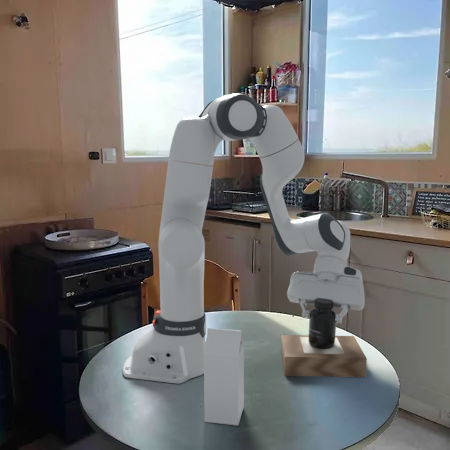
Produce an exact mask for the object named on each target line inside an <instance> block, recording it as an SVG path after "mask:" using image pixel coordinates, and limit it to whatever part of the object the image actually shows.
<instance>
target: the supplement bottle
mask: <svg viewBox="0 0 450 450" xmlns="http://www.w3.org/2000/svg"><path fill="white" fill-rule="evenodd" d="M313 307H314V308H312V309H311V310H310V311H309V318H308V319H309V321H308V335H309V339H308V341H309V344H310V345H311V346H313V347H315V348H319V349H329V348H332V347H333V346H334V344H335V336H336V329H337V323H336V322H335V318H336V314H337V313H336V311H335V310H334V307H333V301H332V300H330V299H323V298H316V299H315V300H314V305H313Z"/></svg>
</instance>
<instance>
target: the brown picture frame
mask: <svg viewBox="0 0 450 450" xmlns="http://www.w3.org/2000/svg"><path fill="white" fill-rule="evenodd" d="M308 339H309V334H306V335H305V334H299V335H298V334H297V335H296V334H281V335H280V355H281V361H282V363H281V364H282V367H283V375H284V376H285V377H287V376H288V377H327V378H329V377H331V378H334V377H335V378H344V377H345V378H366V377H367V362H368V361H367V356H366V355H365V353H364V351H363V350H362V348H361V346H360V344H359V342H358V340H357V339H356V337H355V336H354V335H335V344H334V346H333V347H332V348H329V349H319V348H315V347H313V346H311V345H310V344H309V341H308Z"/></svg>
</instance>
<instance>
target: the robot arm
mask: <svg viewBox="0 0 450 450" xmlns="http://www.w3.org/2000/svg"><path fill="white" fill-rule="evenodd" d="M171 140H172V141H171V144H170V148H169V154H168V162H167V170H166V176H165V186H164V193H163V202H162V210H161V215H160V216H161V217H160V226H159V231H158V267H159V268H158V269H159V271H158V272H159V294H160V296H159V297H160V301H159V303H160V310H159V309H158V310H156V311H155V313H154V314H153V318H152V327H153V328H152V329H150V330H149V331H148V332H146V333H145V334H143V335H142V336H141V337H140V338H139V339H138V340H137V341H136V343H135V344H134V347H133V349H132V352H131V355H130V356H129V357H128V358H127V359H126V360H125V362H124V364H123V367H122V374H123V376H124V377H125V378H129V379H137V380H145V381H154V382H161V383H162V382H163V383H170V384H175V385H176V384H183V383H185V382H187V381H188V380H190V379H192V378H193V379H194V378H196V377H200V376H202V375H204V349H205V344H206V336H207V318H206V316H207V315H206V312H205V311H204V310H205V309H204V308H205V307H204V306H205V304H204V298H205V297H204V291H205V290H204V281H205V280H204V279H205V256H206V253H205V252H206V249H205V248H206V242H205V241H206V240H205V238H204V235H203V228H204V223H205V216H206V211H207V206H208V202H209V199H210V192H211V191H210V190H211V183H212V178H213V172H214V171H213V170H214V163H215V153H216V151H217V148H218V146H219V144H220V143H221V142H222V141H227V142H234V141H242V140H248V141H249V142H250V143H251V144H252V145H253V146H254V148H255V150H256V153H257V155H258V157H259V160H260V163H261V167H262V173H261V174H260V177H259V184H260V190H261V194H262V198H263V200H264V204H265V206H266V207H265V208H266V210H267V213H268V215H269V216H268V217H269V219H270V223H271V225H272V226H271V227H272V231H273V236H274V242H275V244H276V247H277V248H278V250H279V251H281V253H283V254H284V255H285V256H287V257H294V256H297V255H301V254H303V253H304V254H305V253H311V252H316V253H317V256H316V258H315V260H314V266H313V271H303V270H296V272H292V274H291V275H290V279H289V285H288V289H287V291H286V292H287V293H286V295H287V296H286V297H287V299H288V300H289V302H290V303H295V304H300V307H301V311H302V312H301V318H302V319H306V320H308V319H309V317H310V311H309V310H308V309H307V310H306V308H307V306H308V305H312V306H314V300H315V299H316V298H323V299H330V300H332V301H333V309H334V308H335V309H341V311H340V312H339V313H336V318H335V322H336V324H342V323H343V322H342V321H343V318H344V317H345V316H346V315H347V314H348V311H349V310H352V311H357V312H358V311H359V312H360V311H362V310H363V309H364V308H365V306H366V302H365V301H366V300H365V287H364V282H363V275H362V271H361V270H360V269H357V268H355V267H352V266H349V265H348V262H347V261H348V258H349V256H350V252H351V229H350V228H349V226H348V225H347V224H346V223H345V222H344V221H341V220H337V219H336V218H335V217H334V216H332V215H331V214H329V213H326V212H324V213H319V214H318V213H316V214H313V215H309V216H306V217H301V218H295V219H294V218H292V217H290V215H289V212H288V208H287V205H286V202H285V199H284V195H283V189H284V187H285V186H286V185H287V184H288V183H290V182H291V181H292V180H293V179H294V178H295V177H297V175H298V174H299V173H300V172H301V170H302V169H303V166H304V164H305V157H306V155H305V152H304V149H303V146H302V143H301V141H300V138H299V137H298V134H297V132H296V130H295V129H294V127H293V125H292V124H291V122H290V120H289V119H288V117H287V116H286V114H285V113H284V111H283V110H282V109H281V108H280V106H277V105H275V104H266V105H261V104H260V103H259V102H257V101H256V100H255V99H254V98H253V97H251V96H250V95H248V94H244V93H240V92H237V93H231V94H223V95H221V96H219V97H217V98H215V99H212V101H210V102H208V103H207V105H206V106H205V107H204V108H203V110H202V112H201V113H200V114H199V115H198V116H188V117H184V118H183V119H182V118H181V120H180V121H179V122H177V124H176V127H175V129H174V133H173V136H172V138H171Z"/></svg>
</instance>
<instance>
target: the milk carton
mask: <svg viewBox="0 0 450 450" xmlns="http://www.w3.org/2000/svg"><path fill="white" fill-rule="evenodd" d="M205 341H206V344H205V349H204V374H203V389H204V390H203V400H204V402H203V403H204V411H203V412H204V422H205V423H212V424H220V425H229V426H230V425H231V426H240V425H239V424H240V421H241V418H242V414H243V411H244V407H245V403H244V402H245V342H244V339H243V336H242V330H239V329H225V328H222V329H221V328H210V327H208V328H206V337H205Z"/></svg>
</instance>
